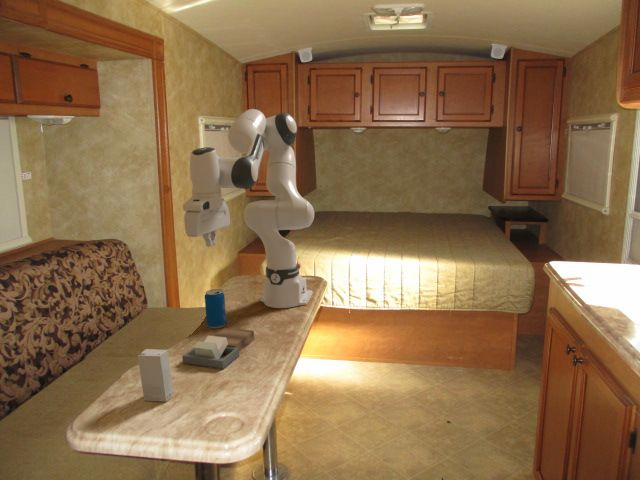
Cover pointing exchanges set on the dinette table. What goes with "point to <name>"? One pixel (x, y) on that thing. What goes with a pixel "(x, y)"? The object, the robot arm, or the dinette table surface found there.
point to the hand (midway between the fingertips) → (210, 245)
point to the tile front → (207, 350)
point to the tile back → (218, 342)
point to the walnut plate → (237, 337)
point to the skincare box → (155, 375)
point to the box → (221, 363)
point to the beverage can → (215, 308)
